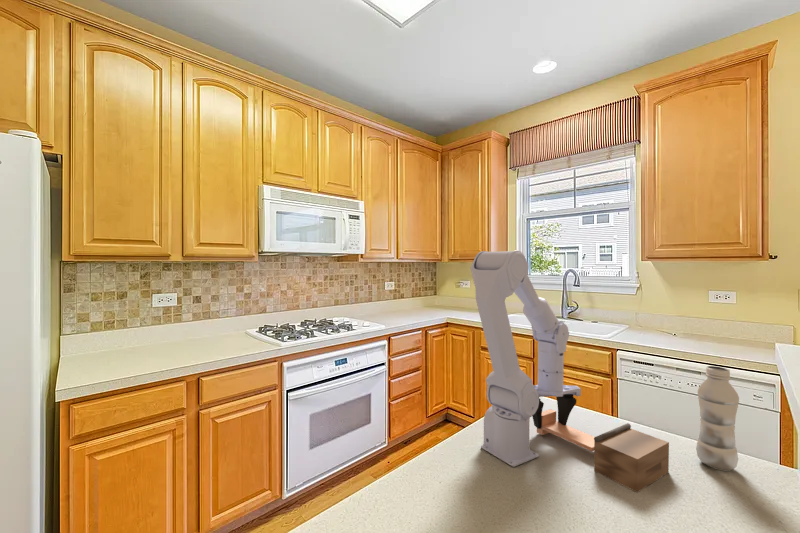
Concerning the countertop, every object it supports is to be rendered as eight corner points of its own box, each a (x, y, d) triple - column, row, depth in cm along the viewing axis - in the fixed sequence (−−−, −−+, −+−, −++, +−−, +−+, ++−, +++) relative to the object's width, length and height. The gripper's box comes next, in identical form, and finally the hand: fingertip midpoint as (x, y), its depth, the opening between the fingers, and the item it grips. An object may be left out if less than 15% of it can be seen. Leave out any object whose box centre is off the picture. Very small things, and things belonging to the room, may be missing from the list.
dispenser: (593, 470, 74) (593, 436, 74) (625, 454, 80) (626, 422, 80) (637, 492, 67) (637, 454, 67) (668, 472, 73) (668, 437, 73)
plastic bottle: (720, 458, 79) (722, 364, 78) (747, 476, 72) (749, 373, 72) (688, 456, 79) (689, 363, 79) (711, 474, 72) (713, 372, 72)
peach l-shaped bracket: (536, 432, 89) (536, 413, 89) (550, 427, 92) (550, 409, 92) (591, 458, 78) (592, 436, 78) (605, 451, 80) (606, 430, 80)
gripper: (529, 375, 84) (529, 435, 84) (589, 373, 86) (588, 432, 86) (516, 367, 91) (515, 422, 91) (571, 365, 93) (570, 419, 93)
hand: (550, 426), depth 89 cm, fingers closed on peach l-shaped bracket, 6 cm apart
